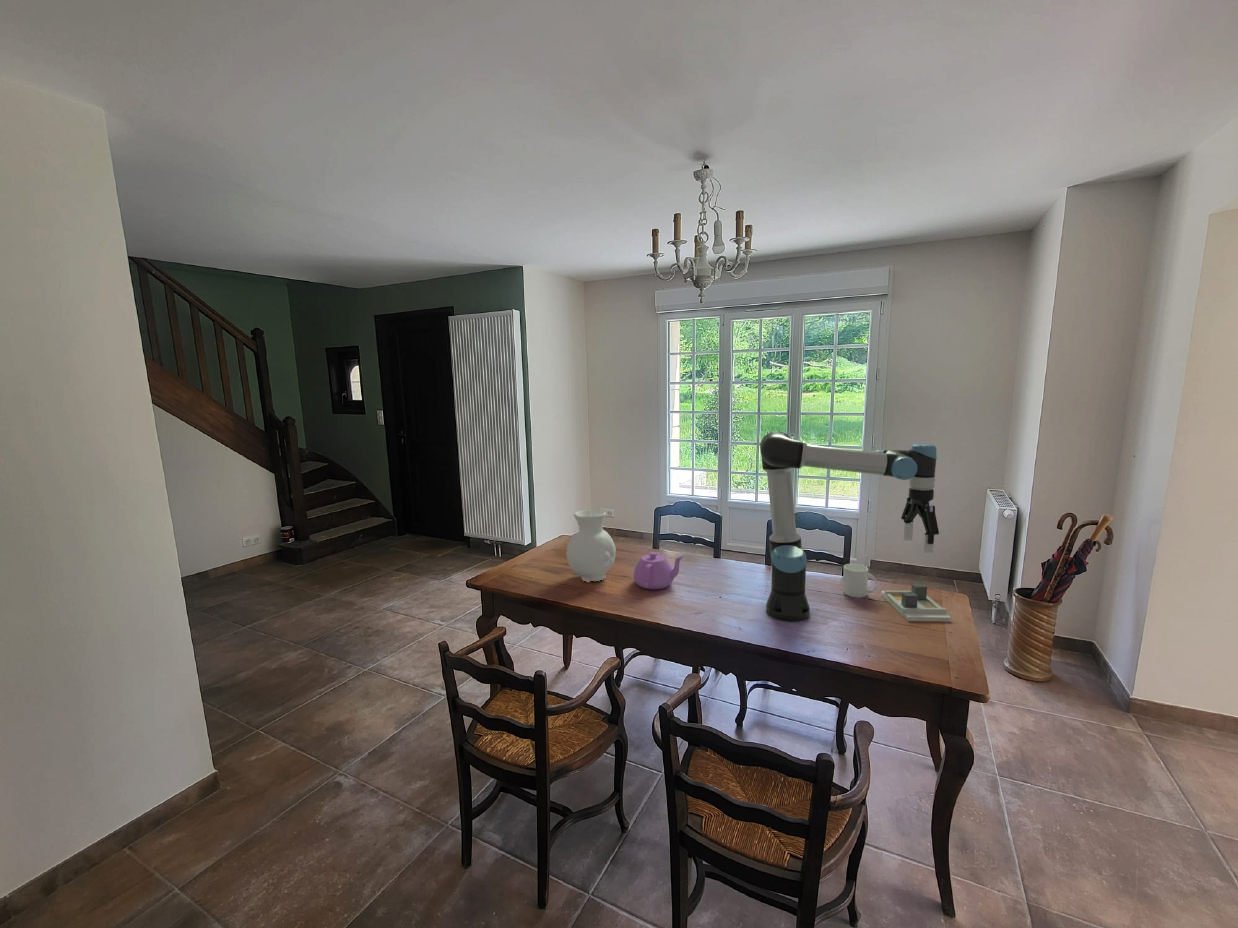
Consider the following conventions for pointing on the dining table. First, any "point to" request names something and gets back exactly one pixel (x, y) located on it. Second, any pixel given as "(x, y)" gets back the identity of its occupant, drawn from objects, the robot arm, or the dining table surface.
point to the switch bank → (923, 612)
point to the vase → (591, 546)
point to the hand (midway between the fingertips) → (917, 546)
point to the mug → (856, 580)
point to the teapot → (655, 571)
